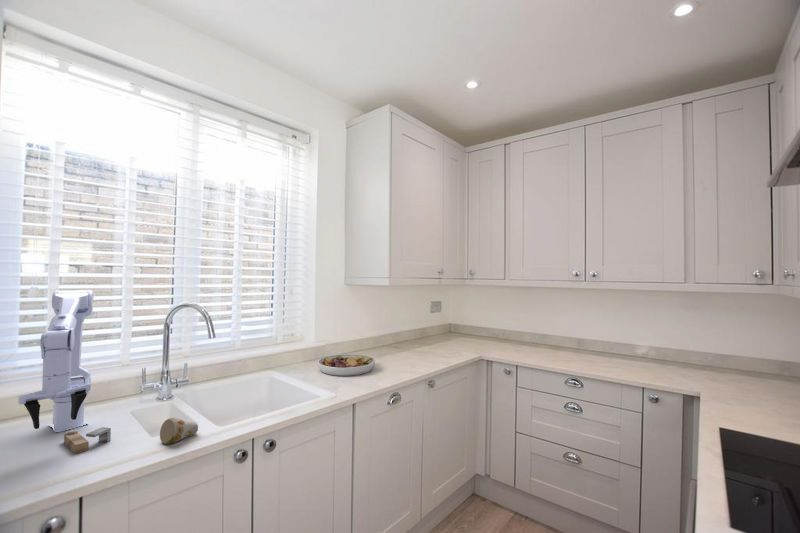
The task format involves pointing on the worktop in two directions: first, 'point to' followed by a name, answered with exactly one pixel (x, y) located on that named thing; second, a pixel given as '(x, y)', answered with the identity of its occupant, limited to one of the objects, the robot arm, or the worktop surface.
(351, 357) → the bowl
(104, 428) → the bracket
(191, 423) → the grey-brown rounded piece
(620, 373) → the worktop surface
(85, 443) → the link
